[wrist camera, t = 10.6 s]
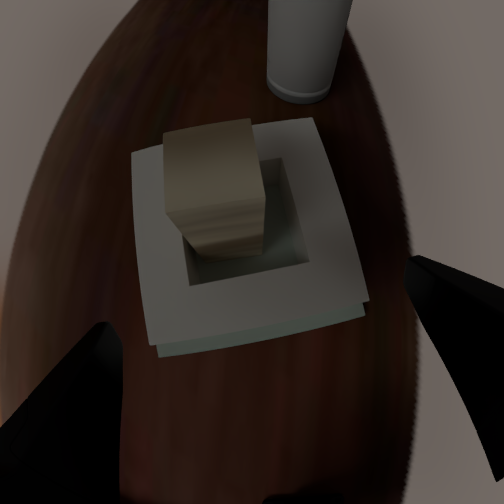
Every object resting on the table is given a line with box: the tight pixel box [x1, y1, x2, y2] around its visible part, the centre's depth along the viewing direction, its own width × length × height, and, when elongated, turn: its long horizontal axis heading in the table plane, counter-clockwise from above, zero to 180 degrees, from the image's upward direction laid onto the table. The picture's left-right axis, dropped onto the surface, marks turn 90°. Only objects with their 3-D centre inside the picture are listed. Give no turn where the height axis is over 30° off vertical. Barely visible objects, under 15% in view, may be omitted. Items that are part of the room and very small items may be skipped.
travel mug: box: [267, 0, 353, 104], centre depth 16 cm, size 6×7×20 cm
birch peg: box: [163, 118, 266, 264], centre depth 17 cm, size 4×4×10 cm
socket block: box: [132, 117, 369, 357], centre depth 20 cm, size 15×15×5 cm
